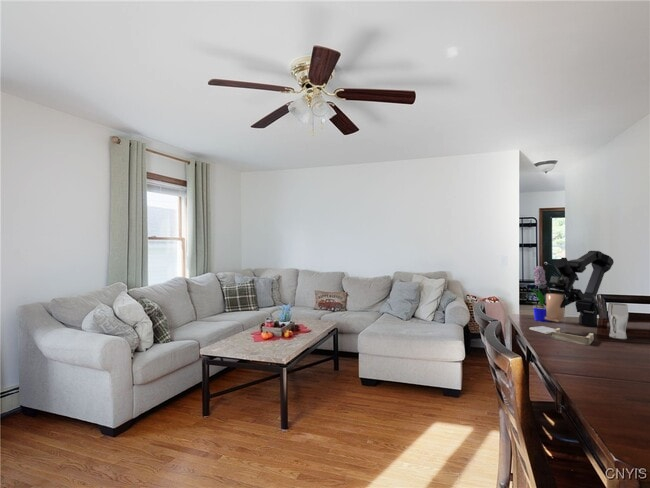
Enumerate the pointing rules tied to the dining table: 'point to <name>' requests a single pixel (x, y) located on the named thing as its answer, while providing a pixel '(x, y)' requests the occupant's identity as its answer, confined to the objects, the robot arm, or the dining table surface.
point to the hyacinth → (539, 295)
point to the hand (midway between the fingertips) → (553, 306)
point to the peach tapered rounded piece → (554, 307)
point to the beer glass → (618, 320)
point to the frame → (572, 337)
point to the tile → (542, 329)
